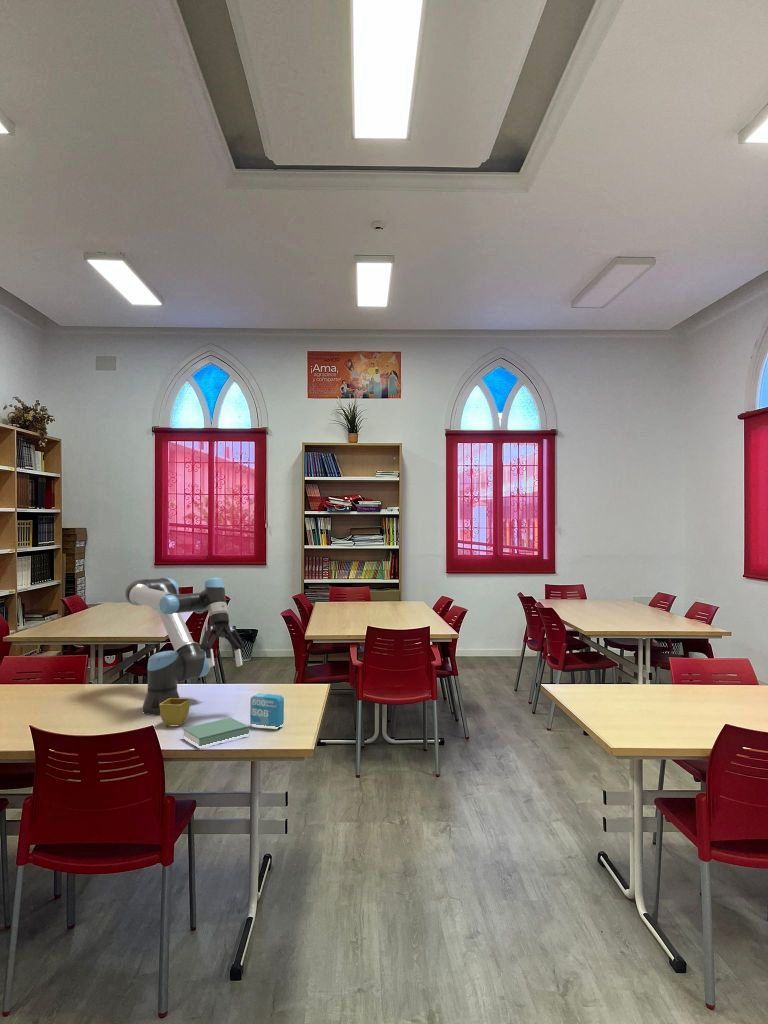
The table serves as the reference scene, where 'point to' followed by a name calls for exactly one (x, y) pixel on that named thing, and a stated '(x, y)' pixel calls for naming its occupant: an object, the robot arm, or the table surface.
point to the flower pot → (174, 711)
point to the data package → (267, 710)
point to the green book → (215, 731)
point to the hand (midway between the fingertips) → (226, 666)
